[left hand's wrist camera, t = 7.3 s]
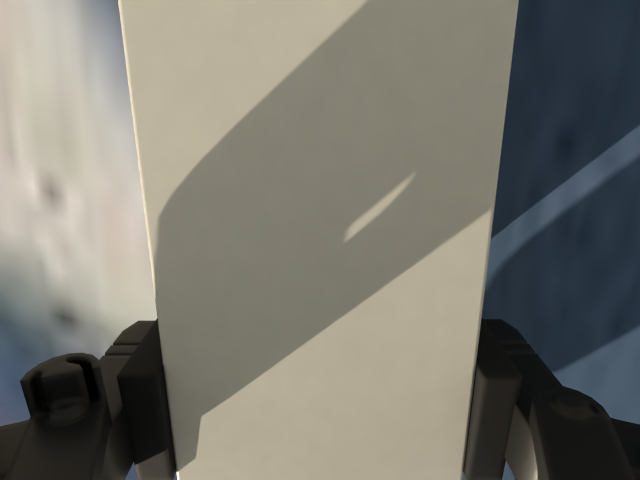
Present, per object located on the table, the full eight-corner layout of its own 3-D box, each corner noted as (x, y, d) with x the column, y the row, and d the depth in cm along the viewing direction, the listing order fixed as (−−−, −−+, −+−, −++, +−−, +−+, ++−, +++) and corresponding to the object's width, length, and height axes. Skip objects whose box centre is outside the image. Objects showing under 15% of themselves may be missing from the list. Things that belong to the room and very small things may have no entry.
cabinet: (236, -40, 16) (70, -355, 5) (402, -40, 16) (565, -358, 5) (255, 331, 20) (185, 561, 10) (385, 331, 20) (454, 561, 10)
